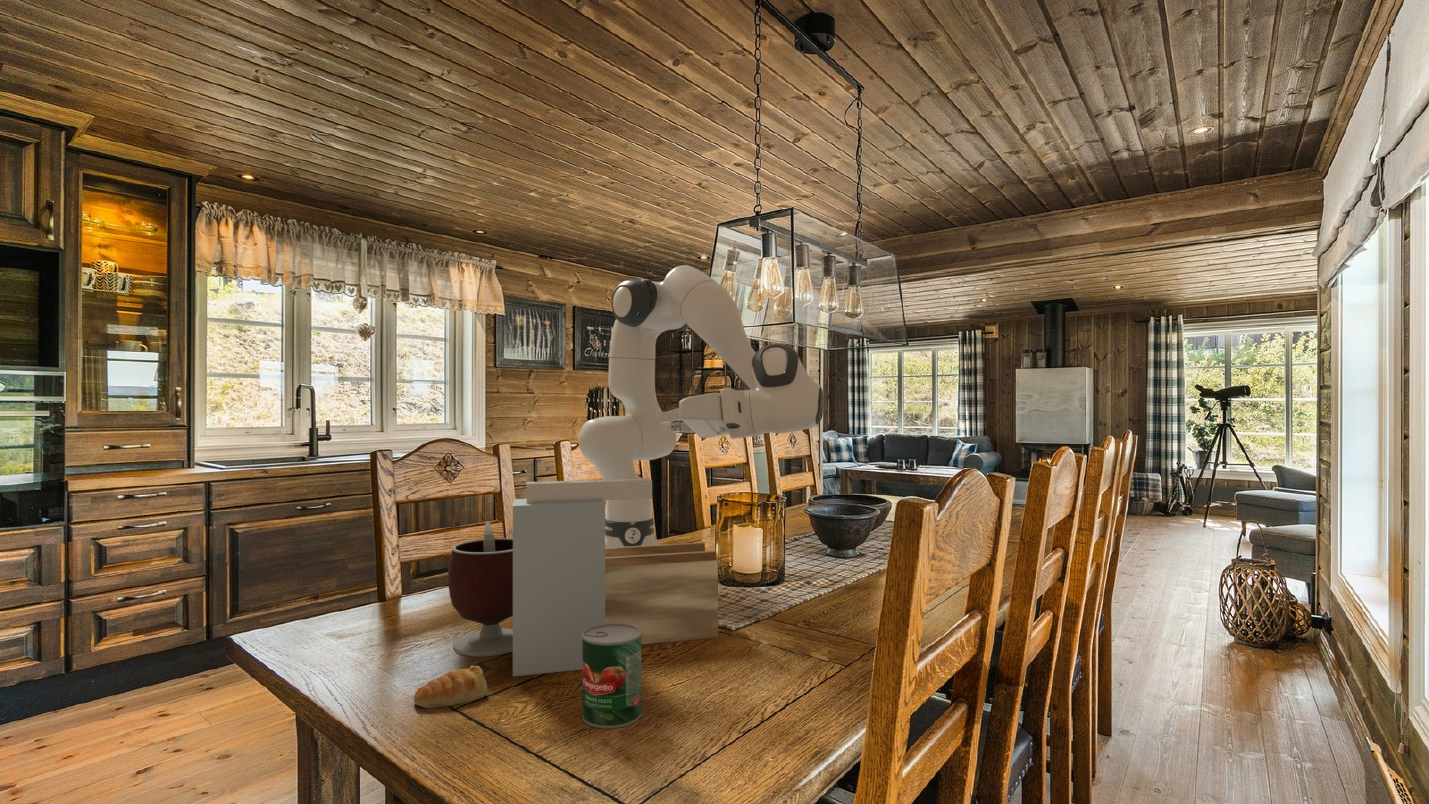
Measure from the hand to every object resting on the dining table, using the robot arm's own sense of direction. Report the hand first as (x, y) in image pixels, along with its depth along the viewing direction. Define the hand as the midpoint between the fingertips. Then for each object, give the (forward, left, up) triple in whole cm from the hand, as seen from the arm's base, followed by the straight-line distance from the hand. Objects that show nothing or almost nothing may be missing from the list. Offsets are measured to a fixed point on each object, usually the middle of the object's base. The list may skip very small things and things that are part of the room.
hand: (665, 423), depth 129 cm
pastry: (+24, -35, -38) cm, 58 cm away
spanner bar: (+15, -16, -12) cm, 25 cm away
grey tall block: (+15, -21, -38) cm, 46 cm away
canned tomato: (+36, -15, -38) cm, 55 cm away
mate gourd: (+2, -32, -38) cm, 50 cm away
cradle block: (+5, -4, -38) cm, 39 cm away
